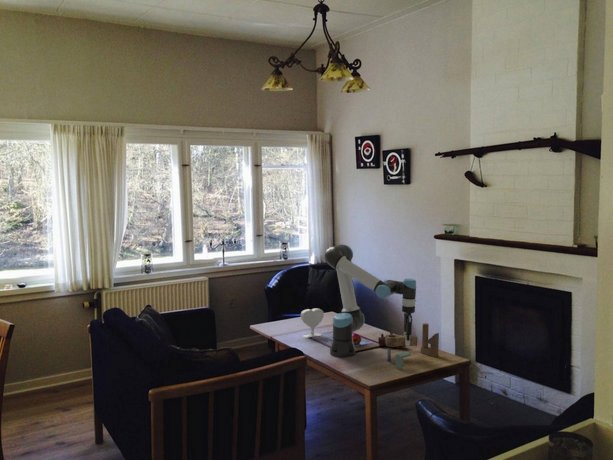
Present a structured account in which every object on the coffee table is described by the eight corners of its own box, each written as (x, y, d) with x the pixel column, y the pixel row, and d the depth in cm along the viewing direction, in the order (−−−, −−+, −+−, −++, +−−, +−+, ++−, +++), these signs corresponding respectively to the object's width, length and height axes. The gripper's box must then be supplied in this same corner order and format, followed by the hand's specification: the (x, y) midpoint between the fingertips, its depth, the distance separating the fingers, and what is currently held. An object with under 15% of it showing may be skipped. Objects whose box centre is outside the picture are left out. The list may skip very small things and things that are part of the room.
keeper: (395, 367, 301) (395, 354, 300) (405, 364, 305) (405, 351, 304) (400, 369, 297) (401, 356, 297) (410, 366, 302) (410, 353, 301)
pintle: (387, 361, 310) (387, 349, 310) (387, 360, 312) (387, 348, 312) (391, 361, 310) (391, 349, 310) (390, 360, 312) (390, 348, 312)
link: (386, 346, 315) (387, 338, 314) (385, 342, 322) (385, 334, 321) (417, 346, 315) (417, 338, 314) (415, 343, 322) (415, 334, 321)
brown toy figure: (406, 345, 331) (404, 329, 334) (379, 349, 335) (377, 333, 339) (407, 346, 337) (405, 330, 340) (381, 350, 341) (378, 334, 344)
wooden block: (434, 357, 318) (435, 327, 316) (420, 352, 326) (420, 323, 325) (438, 356, 320) (439, 326, 319) (424, 351, 329) (424, 322, 327)
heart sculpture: (320, 333, 368) (320, 307, 366) (324, 335, 363) (324, 308, 362) (300, 336, 361) (300, 309, 360) (303, 338, 357) (303, 311, 355)
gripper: (418, 309, 307) (416, 349, 310) (412, 302, 324) (410, 339, 327) (404, 308, 307) (402, 348, 310) (399, 301, 324) (397, 339, 327)
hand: (406, 344), depth 318 cm, fingers closed on link, 4 cm apart
